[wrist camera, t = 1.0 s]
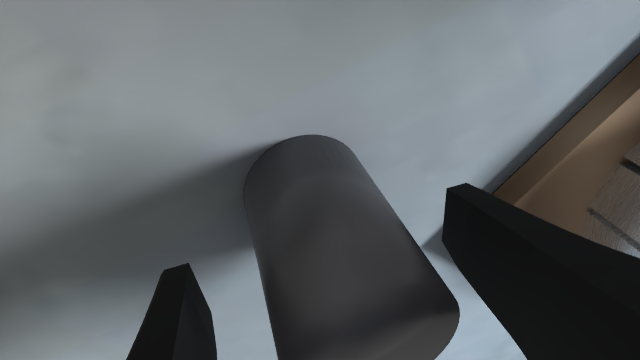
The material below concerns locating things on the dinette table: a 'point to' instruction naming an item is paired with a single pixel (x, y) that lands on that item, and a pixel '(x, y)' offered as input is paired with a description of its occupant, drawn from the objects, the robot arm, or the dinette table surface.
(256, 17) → the dinette table surface
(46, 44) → the dinette table surface
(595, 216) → the white faceted ring
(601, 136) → the walnut board
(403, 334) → the dark rounded capsule
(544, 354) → the robot arm
